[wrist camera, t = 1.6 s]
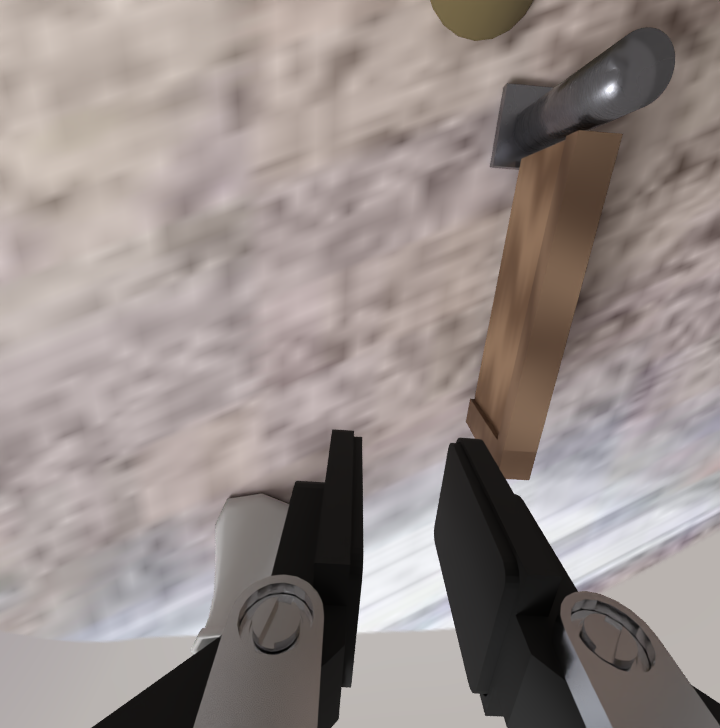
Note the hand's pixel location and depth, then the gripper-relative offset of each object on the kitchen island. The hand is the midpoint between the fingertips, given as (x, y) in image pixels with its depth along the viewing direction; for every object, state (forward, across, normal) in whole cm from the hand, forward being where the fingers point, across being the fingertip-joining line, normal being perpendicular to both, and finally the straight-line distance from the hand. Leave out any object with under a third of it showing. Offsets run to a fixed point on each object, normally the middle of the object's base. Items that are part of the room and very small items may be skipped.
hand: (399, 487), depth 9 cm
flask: (+17, +8, +18) cm, 26 cm away
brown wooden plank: (+16, -8, -2) cm, 18 cm away
